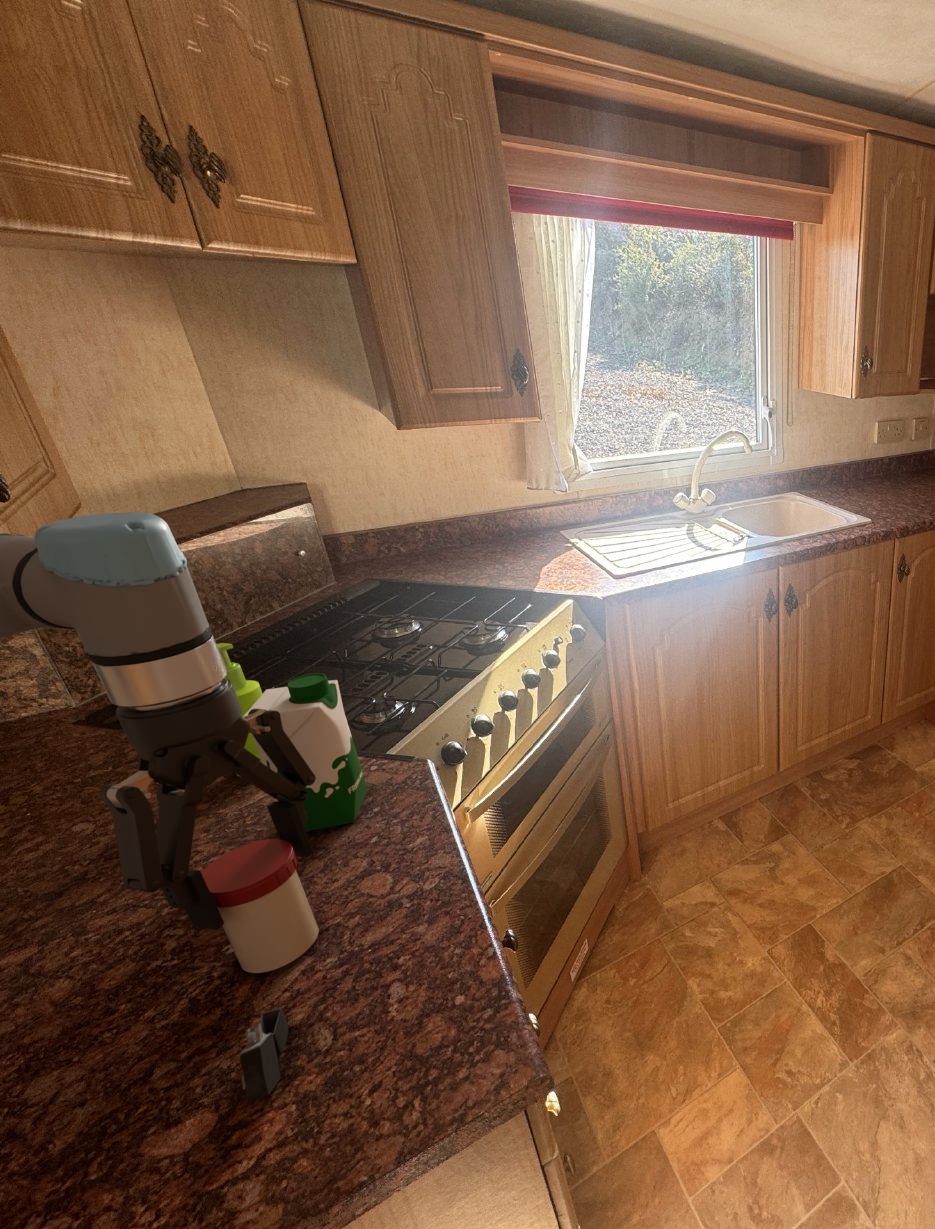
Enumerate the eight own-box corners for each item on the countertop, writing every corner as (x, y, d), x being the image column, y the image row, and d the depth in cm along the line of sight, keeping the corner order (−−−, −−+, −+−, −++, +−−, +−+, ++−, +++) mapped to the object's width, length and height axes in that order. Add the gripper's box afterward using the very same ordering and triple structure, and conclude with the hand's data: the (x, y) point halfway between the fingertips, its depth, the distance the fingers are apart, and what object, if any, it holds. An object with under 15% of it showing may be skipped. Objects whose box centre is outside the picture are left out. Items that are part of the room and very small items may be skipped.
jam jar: (233, 948, 68) (197, 870, 64) (309, 910, 72) (280, 835, 68) (248, 985, 64) (211, 905, 60) (327, 942, 68) (297, 865, 64)
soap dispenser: (218, 778, 94) (167, 655, 87) (265, 752, 100) (222, 635, 93) (249, 784, 93) (200, 660, 85) (295, 757, 99) (254, 640, 92)
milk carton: (360, 825, 85) (318, 693, 78) (278, 841, 82) (225, 706, 75) (376, 786, 93) (339, 662, 85) (301, 799, 90) (256, 673, 82)
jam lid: (196, 881, 64) (190, 867, 63) (287, 842, 69) (282, 828, 69) (211, 921, 60) (204, 905, 59) (307, 876, 65) (301, 861, 64)
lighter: (266, 1070, 59) (256, 1012, 59) (294, 1058, 60) (284, 1001, 60) (237, 1108, 52) (225, 1043, 52) (269, 1094, 53) (258, 1030, 53)
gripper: (256, 638, 67) (319, 813, 75) (-28, 756, 47) (100, 974, 56) (318, 643, 66) (375, 821, 74) (52, 767, 46) (171, 988, 55)
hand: (257, 886), depth 65 cm, fingers open, 9 cm apart
